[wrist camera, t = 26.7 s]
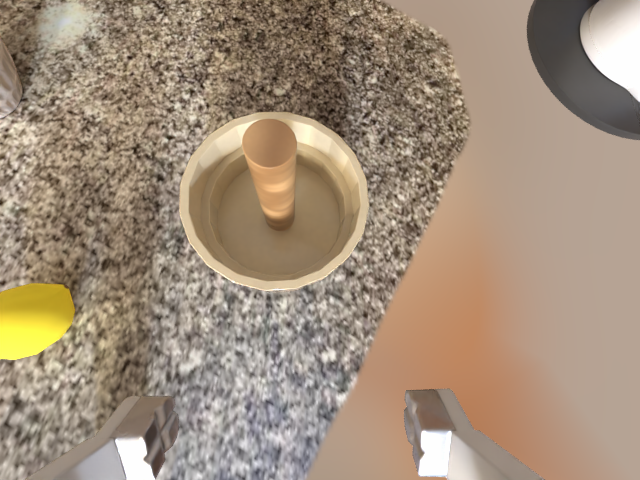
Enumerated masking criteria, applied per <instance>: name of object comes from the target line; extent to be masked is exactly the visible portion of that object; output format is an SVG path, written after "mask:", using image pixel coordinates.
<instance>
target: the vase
mask: <svg viewBox="0 0 640 480" xmlns="http://www.w3.org/2000/svg"><path fill="white" fill-rule="evenodd" d="M22 93H23V90H22V85H21V81H20V78H19V75H18V72H17V69H16V67H15V64H14V61H13V59H12V56H11V54H10V52H9V50H8V49H7V47H6V45H5V43H4V42H3V40H2V38H1V36H0V119H1V118H3V117H5V116H7V115H8V114H10V113H11V112H12V111H13V110H14V109H15V108H16V107H17V106H18V104H19V103H20V101H21V98H22Z"/></svg>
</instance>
